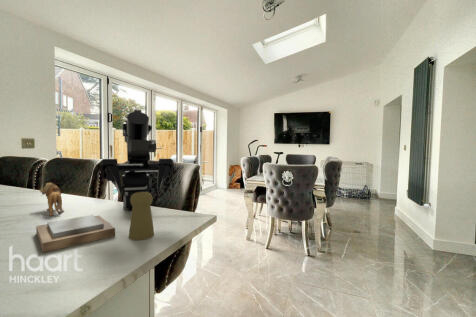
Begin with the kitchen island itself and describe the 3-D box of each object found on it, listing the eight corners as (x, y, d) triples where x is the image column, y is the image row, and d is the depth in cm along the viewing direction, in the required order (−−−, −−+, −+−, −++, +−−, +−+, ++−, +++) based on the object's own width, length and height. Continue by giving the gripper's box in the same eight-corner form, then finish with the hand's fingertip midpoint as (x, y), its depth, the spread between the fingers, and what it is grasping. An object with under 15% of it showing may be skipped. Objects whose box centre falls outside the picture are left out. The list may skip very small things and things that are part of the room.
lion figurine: (39, 208, 82) (38, 182, 81) (57, 206, 86) (57, 181, 86) (51, 217, 73) (50, 188, 72) (71, 214, 77) (71, 186, 76)
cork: (159, 233, 62) (159, 191, 62) (142, 241, 56) (143, 195, 56) (140, 229, 64) (140, 189, 63) (122, 238, 58) (122, 193, 58)
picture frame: (99, 222, 70) (98, 211, 69) (115, 235, 60) (115, 224, 59) (36, 233, 60) (36, 222, 60) (43, 252, 50) (42, 238, 50)
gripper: (100, 128, 62) (97, 174, 53) (172, 131, 71) (181, 172, 61) (102, 156, 70) (100, 202, 61) (167, 156, 78) (174, 196, 69)
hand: (140, 192), depth 63 cm, fingers open, 9 cm apart
